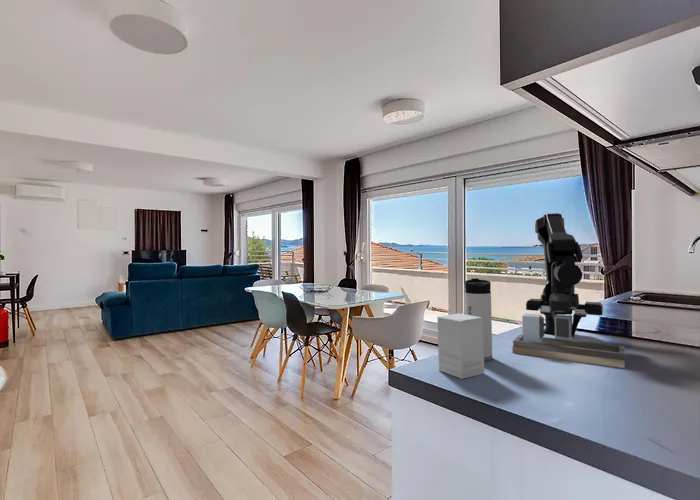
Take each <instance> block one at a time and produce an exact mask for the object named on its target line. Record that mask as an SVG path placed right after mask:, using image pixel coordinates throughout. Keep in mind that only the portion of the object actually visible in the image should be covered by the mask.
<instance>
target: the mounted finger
mask: <svg viewBox="0 0 700 500" xmlns="http://www.w3.org/2000/svg"><path fill="white" fill-rule="evenodd" d="M542 315H543V314H537V313H535V314H534V313H524V314H523V315H522V316H521V317H522V335H523V341H527V342H535V343H542V338H543V337H545V333H544V329H545V318H544V317H545V316H542Z"/></svg>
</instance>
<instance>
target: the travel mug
mask: <svg viewBox="0 0 700 500" xmlns="http://www.w3.org/2000/svg"><path fill="white" fill-rule="evenodd" d="M491 283H492V282H491V281H490V280H486V279H480V278H478V277H477V278H471V279H467V280H465V282H464V289H465V291H464V293H465V295H464V301H465V302H464V304H465V307H464V308H465V315H471V316H476V317H482V318H483V344H484V362H489V361H491V360H493V336H492V335H493V330H492V329H493V327H492V326H493V325H492V324H493V322H492V321H493V320H492V319H493V317H492V292H491V291H492V290H491V286H492V284H491Z"/></svg>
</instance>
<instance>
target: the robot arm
mask: <svg viewBox="0 0 700 500" xmlns="http://www.w3.org/2000/svg"><path fill="white" fill-rule="evenodd" d="M562 216H563V215H562V214H561V213H559V212H556V213H546V214H543V216H541V217H539V218H537V219H536V221H535V223H534V231H535V234H537V240H538V241H539V242H540V244H542V245H543V253H544V266H545V277H546V283H545V285H544V287H543V290H542V293H541V295H540V297H539V298H529V299H528V300H527V301H526V303H525V310H527V311H534V312H536V311H539V312H540V315H544V317H545V318H544V334H552V335H553V336H554V337H555V317H554V316H555V315H556V314H561V315H572V338H573V339H574V337H575V334H576V331H577V328H578V326H579V324H580V321H581V319H582V318H586V317H587V316H588V315H589V316H590V315H591V316H603V314H604V305H603V304H602V303H601V301H600V302H599V301H598V302H597V301H585V303H584V304H581V303H580V300H579V299H580V298H579V293H576V292H575V286H576V285H577V284H579V283H580V282H581V281H582V278H583V272H582V269H581V268H580V267H579V266H578V265H576V263H581V262H582V260H583V256H584V255H583V252H582V249H581V245H580V244H579V242H578V241H576V238H575V237H574V236H573V235H572V234H570V233H567V231H566V228H565V219H564V217H562ZM573 311H574V312H573Z"/></svg>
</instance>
